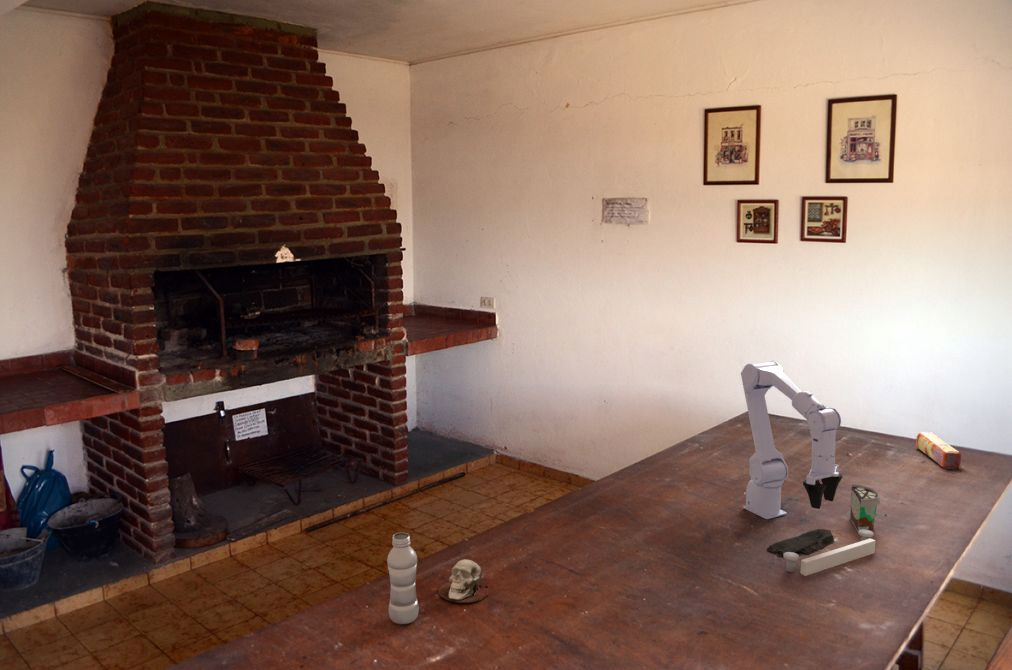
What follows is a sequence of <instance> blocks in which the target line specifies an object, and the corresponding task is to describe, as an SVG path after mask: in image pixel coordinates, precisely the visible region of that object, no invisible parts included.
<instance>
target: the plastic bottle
mask: <svg viewBox="0 0 1012 670" xmlns="http://www.w3.org/2000/svg"><path fill="white" fill-rule="evenodd" d="M391 544H392V546H393V547H392V548H391V549H390V550H389V551H390V552H389V553H388V555H387V559H386V561H387V562H386V563H387V569H388V574H389V581H390V582H389V583H390V595H389V596H390V597H389V603H388V615H389V619H390V620H391V621H392V623H395V624H397V625H408V624H411V623H413V622H414V621H416V619H417V617H418V616H419V611H420V607H419V602H418V601H419V600H418V597H417V588H416V578H417V577H416V575H417V574H416V573H417V567H418V566H417V565H418V555H417V552H416V551H415V550H414V548H412V547H411V546H410V545H411V537H410V533H407V532H397V533H394V534H392V543H391Z"/></svg>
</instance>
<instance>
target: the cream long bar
mask: <svg viewBox="0 0 1012 670" xmlns="http://www.w3.org/2000/svg"><path fill="white" fill-rule="evenodd" d="M857 533H858V535H859V536H860V541H858V542H855V543H851V544H848V545H846V546H841V547H838V548H836V549H833V550H832V549H831V550H829V551H826V552H823V553H819V554H816V555H813V556H810V557H807V558H803V559H801V561H800V573H799V574H801V575H803V576H804V577H805V576H806V577H807V576H810V575H813V574H815V573H819V572H821V571H825V570H828V569H831V568H834V567H836V566H837V567H838V566H840V565H843V564H845V563H846V564H847V563H848V562H853V561H855V560H858V559H861V558H864V557H867V556H870V555H873V554H875V552H876V543H877V542H876V540H875V539H873V537H874V532H873V530H872V531H870V530H865V529H861V530H859V531H858V532H857ZM782 557H783V559H785V560H786V565H785V567H786V568H785V570H786V572H788V573H795V571H796V570H795V569H796V562H797V561H799V559H800V555H799V553H798V554H796V553H793V552H786V553H784V555H783V556H782Z"/></svg>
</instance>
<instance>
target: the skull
mask: <svg viewBox="0 0 1012 670" xmlns="http://www.w3.org/2000/svg"><path fill="white" fill-rule="evenodd" d="M482 575H483V572H482V568H481V566H480V565H478V563H476V562H475V561H473V560H471V559H460V560H459V561H457V563H456V564H455V565H454V566H453V567H452V569H451V576H449V579H448V581H449V582H451V584H450V583H447V582H445V583H444V584H442V585H441V586H440V587H439V588H438V595H439V596H440V597H441V598H443V599H445V600H447V601H450V602H452V603H457V604H458V603H460V604H461V603H476V602H479V601H481V600H484V599H485V598H486V597H488V595H489V594H490V592H489V593H488V594H487V595H486V594H485V596H481V595H479V594H477V595H475V596H474V593H475V592H476V590H478V586H480V585H481V583H482V577H483V576H482Z"/></svg>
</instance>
